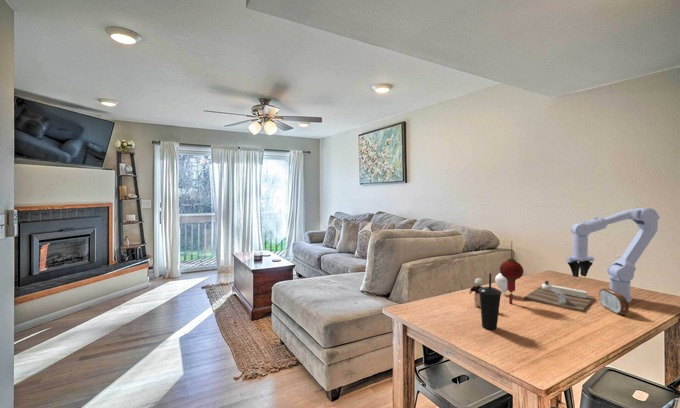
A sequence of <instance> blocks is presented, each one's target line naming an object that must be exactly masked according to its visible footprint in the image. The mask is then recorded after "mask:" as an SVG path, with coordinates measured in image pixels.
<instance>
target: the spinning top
mask: <svg viewBox="0 0 680 408" xmlns="http://www.w3.org/2000/svg"><path fill="white" fill-rule="evenodd" d="M494 279H495V283H496V285H497V287H498V289H499V290H500V291H501V292H502V293H503V295H505V293H506V292H508V290H507V279H506V278H505V277H503V276H502V274H501V273H500V272H499V273H498V274H497V275H496V276H495V278H494Z"/></svg>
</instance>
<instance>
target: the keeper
mask: <svg viewBox="0 0 680 408" xmlns="http://www.w3.org/2000/svg"><path fill="white" fill-rule="evenodd" d="M551 290H552V291H553V292H554V293H555V294H556V295H557V303H559V304H563V305H566V295H565V294H563V293H562V292H561V291H560V290H558V289H554V288H551Z"/></svg>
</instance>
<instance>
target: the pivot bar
mask: <svg viewBox="0 0 680 408" xmlns="http://www.w3.org/2000/svg"><path fill="white" fill-rule="evenodd" d="M541 287H542V290H545V291H551V292H553V291H552V290H551V288H554V289H558V290H560V291H561V292H562V293H563V294H567V295H572V296H577V297H582V298H587V295H588V291H585V290H582V289H574V288H570V287H565V286H559V285H555V284H550V283H549V285H546V284H545V283H541Z"/></svg>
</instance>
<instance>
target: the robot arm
mask: <svg viewBox="0 0 680 408" xmlns="http://www.w3.org/2000/svg"><path fill="white" fill-rule="evenodd" d="M660 218H661V217H660V215H659V213H658V211H657V210H656V209H654V208H652V207H651V208H650V207H647V208H645V207H632V208H629V209H626V210H623V211H620V212H617V213H615V214H612V215H610V216H607V217H604V218H603V217H600V216H593V217H592V219H590V220H586V221H585V220H583V221H581V223H575V224H573V226H571V228H570V232H571V233H572V236H573V238H572V255H570V256H569V257H565V262H566V263H567V265H568V266H569V268H570V270H571V274H572V276H573V277H574V278H579V274H580V276H581V277H585V278H586V277H587V275H588V273H589V271H590V270H589V269H590V268H591V266H592V265H593V262H594V261H595V257H594V256H588V253H589V251H588V250H589V249H588V248H589V239H588V238H589V235H590V234H591V233H592V234H593V233H595V232H598V231H601V230H604V229H606V228H607V227H608V225H612V224H616V223H619V222H622V221H625V220H632V221H633V222H634V223H635V224H636V225H637V227H638V232H637V233H636V234H635V236H634V237H633V239H632V240H631V242H630V243H629V244H628V246H627V248H626V249H625V251H624V252H623V253H622V255H621V257H620V258H617V259H615V261H613V263H612V264H610V265H609V266H608V267H607V274H608V275H609V289H612V290H614V291H616V292H618V293H620V294H622V295H623V296H624V297H625V298H626V300H627V302H628V303H631V302H632V299H633V296H631V281H632V280H633V279H634V276H635V271H636V265H635V264H636V263H637V261H638V260H639V258H640V257H641V256H642V254H643V253H644V252H645V250H646V249H647V248H648V245H649V244H650V242H651V241H652V240H653V238H654V237H655V235H656V233H657V232H658V223H659V222H658V221H659V219H660Z"/></svg>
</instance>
